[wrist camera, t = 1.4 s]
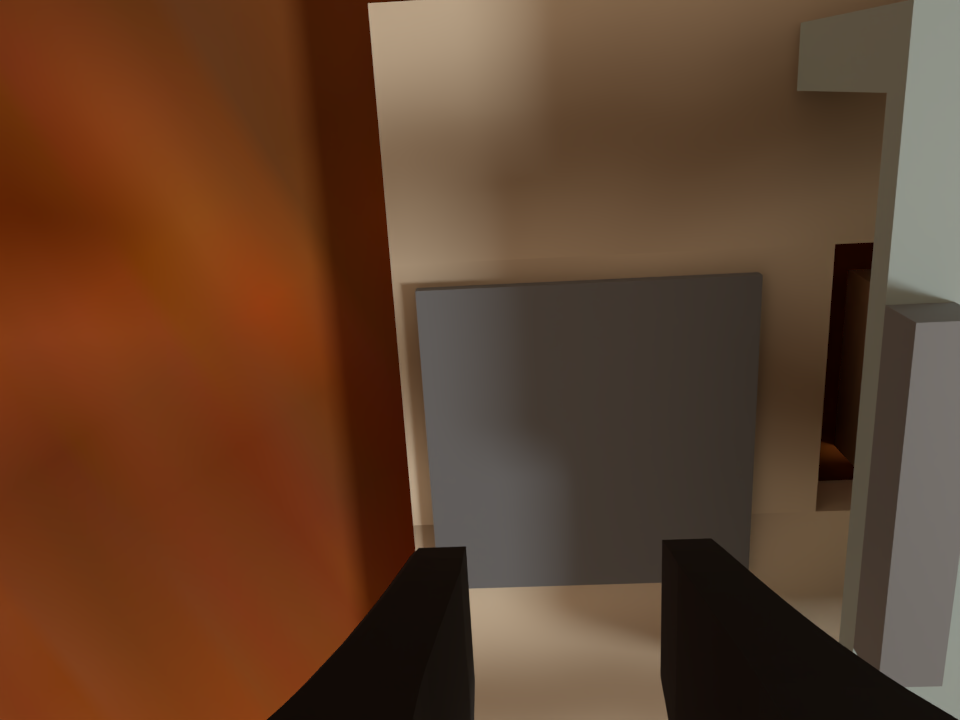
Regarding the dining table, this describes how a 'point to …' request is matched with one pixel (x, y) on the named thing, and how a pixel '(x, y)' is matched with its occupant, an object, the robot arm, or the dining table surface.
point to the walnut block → (852, 361)
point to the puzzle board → (628, 261)
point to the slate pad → (589, 423)
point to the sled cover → (905, 344)
